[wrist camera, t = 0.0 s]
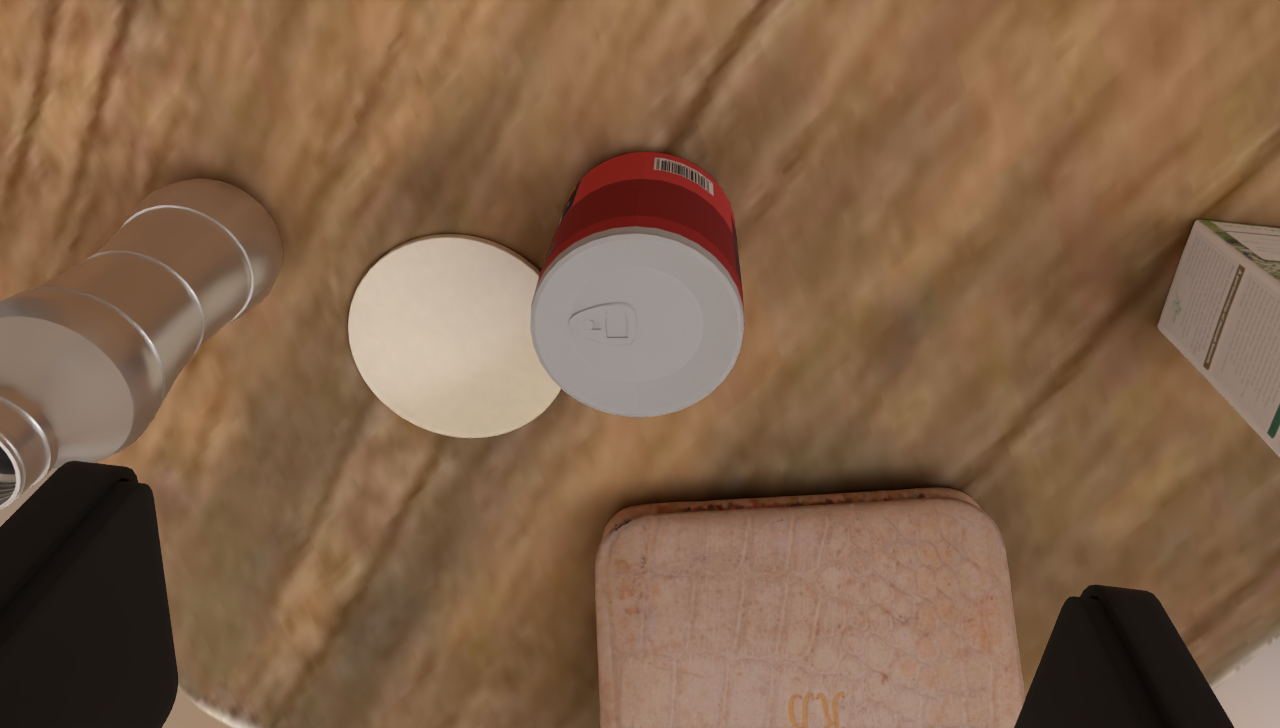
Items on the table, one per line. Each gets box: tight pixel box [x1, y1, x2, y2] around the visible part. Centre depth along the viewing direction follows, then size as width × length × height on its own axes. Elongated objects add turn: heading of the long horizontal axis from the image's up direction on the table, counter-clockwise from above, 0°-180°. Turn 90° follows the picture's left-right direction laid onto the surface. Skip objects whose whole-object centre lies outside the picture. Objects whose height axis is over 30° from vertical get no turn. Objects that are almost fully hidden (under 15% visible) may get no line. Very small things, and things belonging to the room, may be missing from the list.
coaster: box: [348, 234, 561, 438], centre depth 50 cm, size 11×11×1 cm
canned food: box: [530, 152, 744, 417], centre depth 42 cm, size 8×8×11 cm
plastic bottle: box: [0, 179, 283, 509], centre depth 40 cm, size 6×7×20 cm
